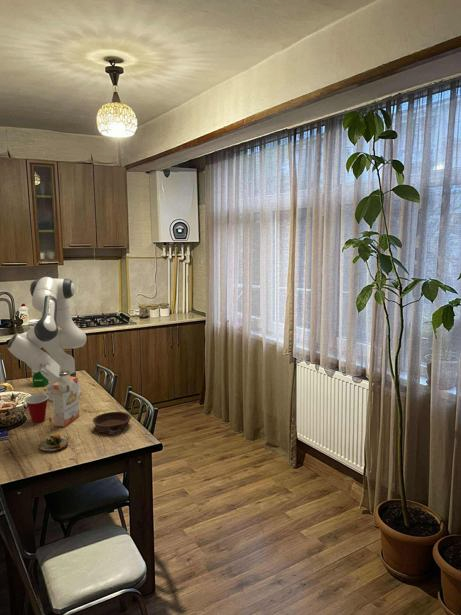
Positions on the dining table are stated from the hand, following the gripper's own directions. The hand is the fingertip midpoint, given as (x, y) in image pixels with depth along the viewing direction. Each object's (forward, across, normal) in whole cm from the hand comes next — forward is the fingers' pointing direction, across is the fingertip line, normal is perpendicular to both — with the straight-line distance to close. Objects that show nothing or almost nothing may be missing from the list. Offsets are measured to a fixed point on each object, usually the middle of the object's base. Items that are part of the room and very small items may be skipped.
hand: (65, 381), depth 210 cm
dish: (+32, -2, +4) cm, 32 cm away
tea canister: (+3, 0, +4) cm, 5 cm away
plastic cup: (+7, +19, +28) cm, 35 cm away
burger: (+13, -15, +22) cm, 30 cm away
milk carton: (+6, +82, +30) cm, 87 cm away
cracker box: (+17, +14, +18) cm, 28 cm away
